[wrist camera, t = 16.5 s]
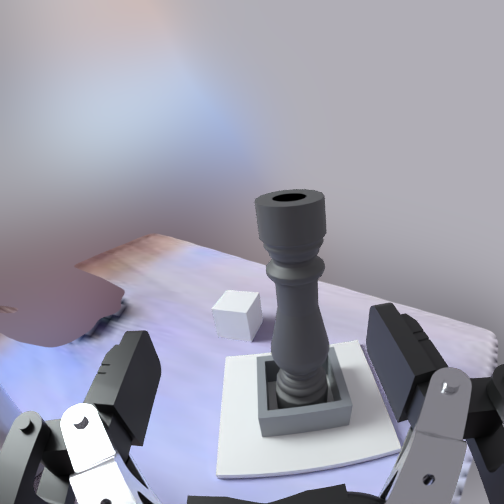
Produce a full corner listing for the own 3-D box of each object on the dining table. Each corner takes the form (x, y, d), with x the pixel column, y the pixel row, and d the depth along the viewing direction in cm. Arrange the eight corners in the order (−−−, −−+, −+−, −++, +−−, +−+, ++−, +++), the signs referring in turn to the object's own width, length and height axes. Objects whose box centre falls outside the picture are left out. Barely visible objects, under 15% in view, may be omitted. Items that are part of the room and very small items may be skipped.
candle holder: (333, 413, 32) (339, 200, 22) (282, 426, 31) (257, 212, 21) (318, 379, 37) (313, 185, 28) (272, 389, 37) (246, 195, 27)
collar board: (217, 478, 26) (206, 459, 24) (226, 361, 44) (220, 336, 42) (399, 452, 25) (410, 429, 23) (357, 344, 44) (359, 318, 42)
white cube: (251, 343, 48) (246, 313, 46) (218, 338, 50) (211, 309, 48) (263, 321, 53) (259, 292, 51) (232, 317, 55) (226, 289, 53)
